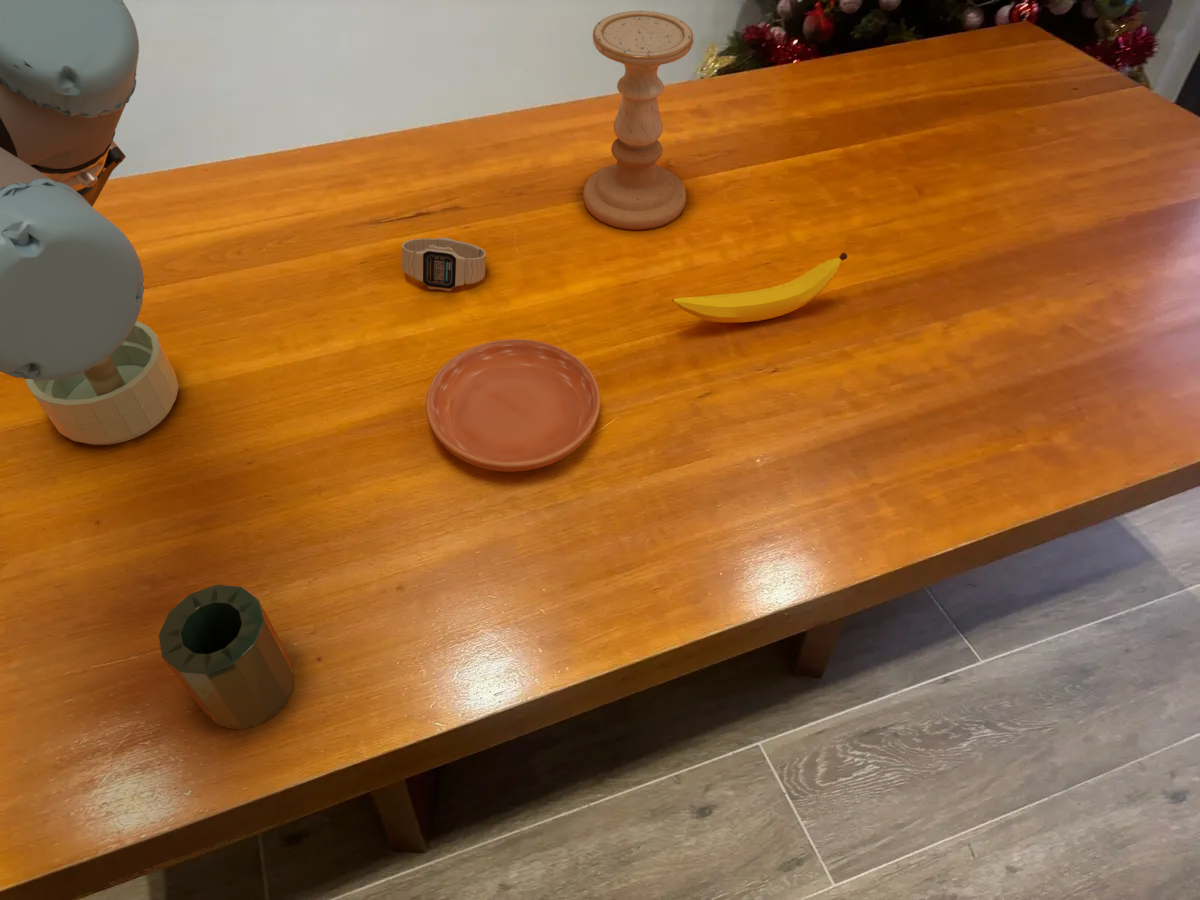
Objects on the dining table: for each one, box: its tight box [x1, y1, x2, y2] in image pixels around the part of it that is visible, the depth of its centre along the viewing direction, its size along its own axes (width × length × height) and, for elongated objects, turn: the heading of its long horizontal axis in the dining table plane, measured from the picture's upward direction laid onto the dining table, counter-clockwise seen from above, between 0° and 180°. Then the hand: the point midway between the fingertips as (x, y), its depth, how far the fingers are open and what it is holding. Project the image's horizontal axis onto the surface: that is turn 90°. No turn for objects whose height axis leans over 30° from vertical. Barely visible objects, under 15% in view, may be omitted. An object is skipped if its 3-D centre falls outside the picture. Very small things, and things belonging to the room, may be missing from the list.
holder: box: [158, 584, 295, 730], centre depth 64 cm, size 7×7×9 cm
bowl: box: [25, 320, 180, 446], centre depth 83 cm, size 11×11×6 cm
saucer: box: [425, 338, 601, 472], centre depth 84 cm, size 16×16×3 cm
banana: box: [671, 252, 848, 323], centre depth 92 cm, size 3×19×6 cm, turn 108°
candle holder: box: [582, 10, 694, 231], centre depth 100 cm, size 12×12×20 cm
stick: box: [83, 356, 126, 396], centre depth 75 cm, size 3×3×24 cm
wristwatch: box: [401, 236, 487, 292], centre depth 97 cm, size 9×6×5 cm
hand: (17, 254), depth 75 cm, fingers closed on stick, 2 cm apart
